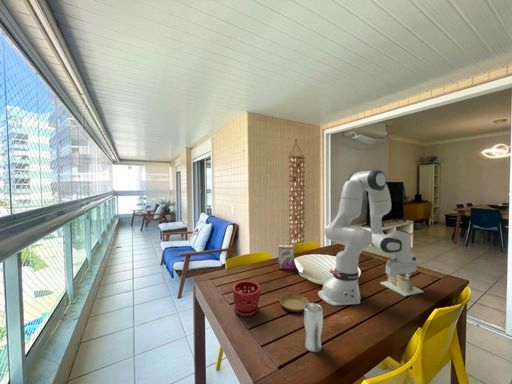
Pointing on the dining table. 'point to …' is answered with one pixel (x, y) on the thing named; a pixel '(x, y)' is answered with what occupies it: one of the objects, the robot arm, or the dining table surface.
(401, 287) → the maple block
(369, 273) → the dining table surface
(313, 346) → the beer glass
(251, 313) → the plant pot
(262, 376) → the dining table surface
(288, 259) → the candy bar box
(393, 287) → the sage mat
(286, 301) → the plant saucer
